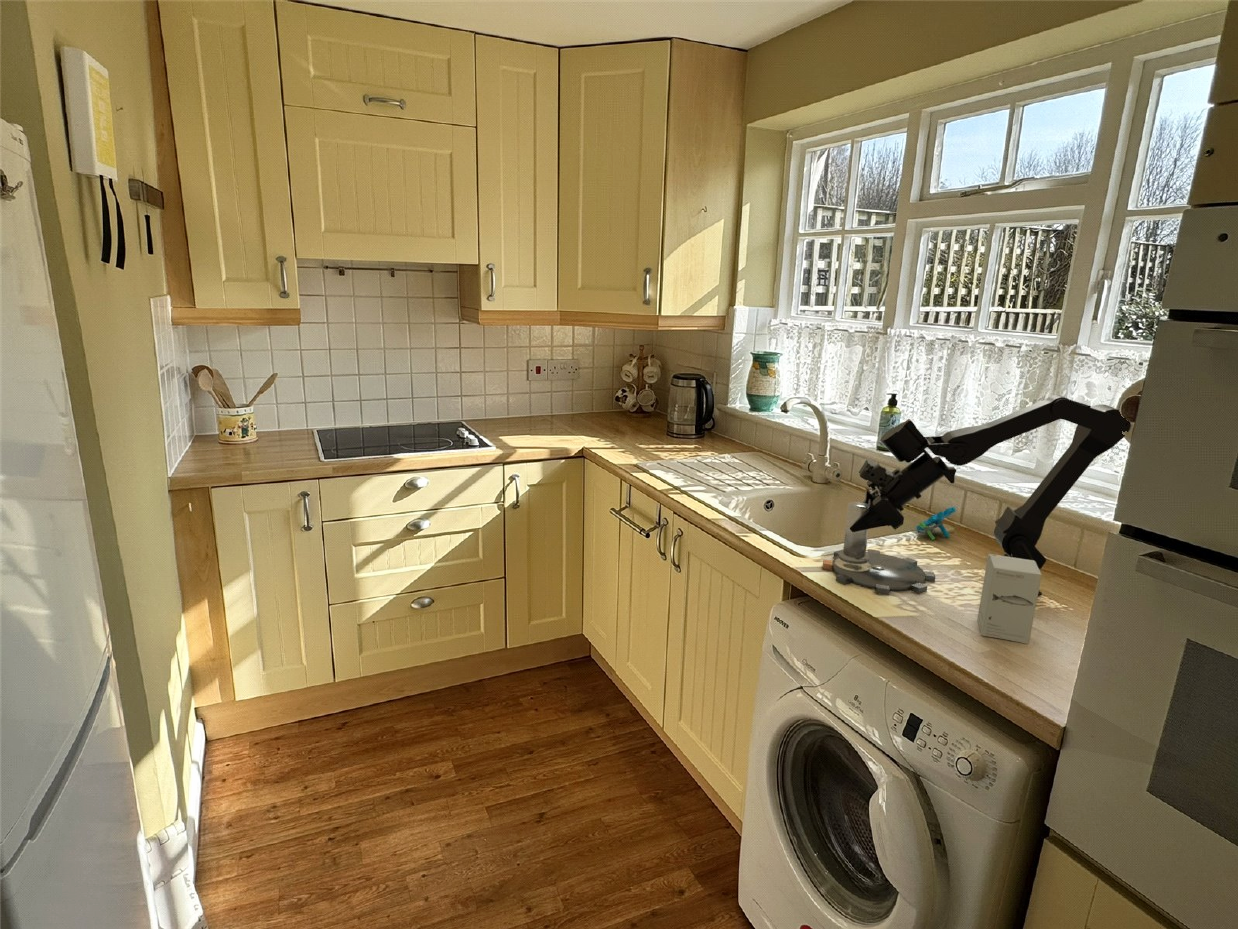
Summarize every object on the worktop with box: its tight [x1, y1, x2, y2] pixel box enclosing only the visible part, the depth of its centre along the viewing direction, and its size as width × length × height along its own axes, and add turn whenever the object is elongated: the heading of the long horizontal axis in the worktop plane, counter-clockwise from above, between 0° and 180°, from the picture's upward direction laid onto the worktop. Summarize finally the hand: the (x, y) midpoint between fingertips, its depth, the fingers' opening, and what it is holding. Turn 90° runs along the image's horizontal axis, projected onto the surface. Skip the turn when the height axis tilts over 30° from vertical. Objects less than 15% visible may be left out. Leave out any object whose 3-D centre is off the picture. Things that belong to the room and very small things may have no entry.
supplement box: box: [976, 553, 1043, 645], centre depth 123 cm, size 7×7×13 cm
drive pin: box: [838, 501, 870, 564], centre depth 148 cm, size 6×6×12 cm
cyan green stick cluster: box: [916, 506, 957, 541], centre depth 172 cm, size 11×6×10 cm
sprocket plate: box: [822, 549, 936, 596], centre depth 149 cm, size 22×22×1 cm
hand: (850, 526), depth 148 cm, fingers closed on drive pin, 4 cm apart
